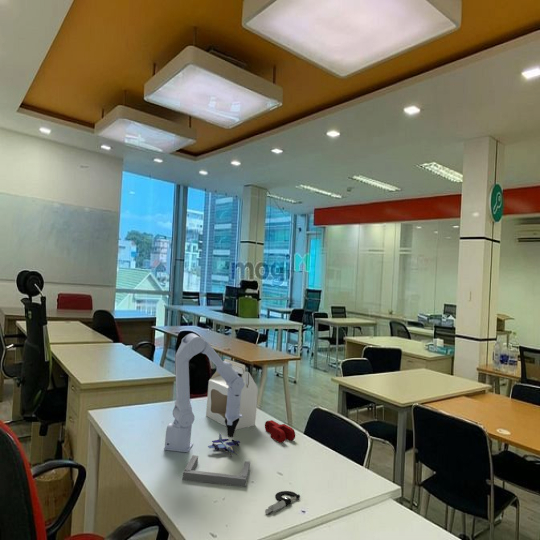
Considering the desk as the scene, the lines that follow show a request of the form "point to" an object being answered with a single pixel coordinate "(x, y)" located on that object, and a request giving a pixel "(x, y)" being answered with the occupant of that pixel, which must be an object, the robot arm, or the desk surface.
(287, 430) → the mechanical linkage
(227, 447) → the toy airplane
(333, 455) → the desk surface
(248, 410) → the gable box
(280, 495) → the micrometer
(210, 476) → the cradle
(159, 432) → the desk surface
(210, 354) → the robot arm
